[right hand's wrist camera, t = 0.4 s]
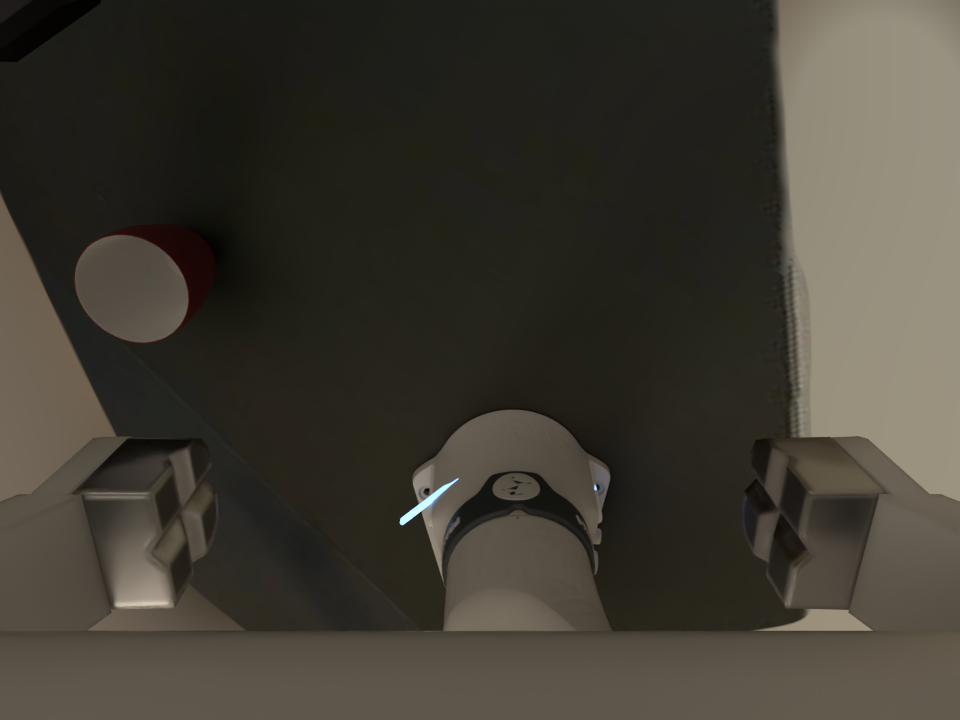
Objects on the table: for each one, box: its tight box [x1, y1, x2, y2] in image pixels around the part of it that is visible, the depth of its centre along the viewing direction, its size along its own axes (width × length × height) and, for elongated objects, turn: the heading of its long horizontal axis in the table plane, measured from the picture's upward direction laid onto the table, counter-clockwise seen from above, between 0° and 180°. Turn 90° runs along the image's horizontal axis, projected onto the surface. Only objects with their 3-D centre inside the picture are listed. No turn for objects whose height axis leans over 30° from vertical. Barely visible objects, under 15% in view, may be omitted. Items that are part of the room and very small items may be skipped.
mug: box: [73, 224, 216, 343], centre depth 52 cm, size 11×8×10 cm
